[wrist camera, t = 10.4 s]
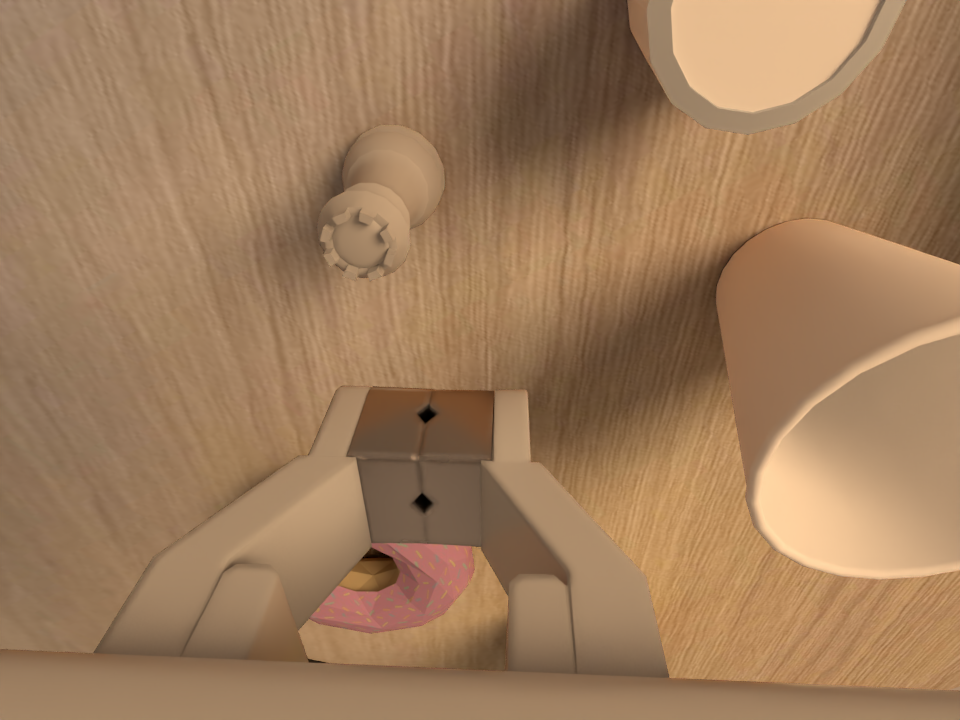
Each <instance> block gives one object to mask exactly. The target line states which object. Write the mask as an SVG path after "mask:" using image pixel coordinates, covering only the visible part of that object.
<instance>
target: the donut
mask: <svg viewBox="0 0 960 720" xmlns="http://www.w3.org/2000/svg"><path fill="white" fill-rule="evenodd" d="M372 548H374V549H376V550H378V551H380V552H382V553H384V554H386V555H388V556H390V557H392V558H361V560H360V561H359V562H358V563H357V564H356V565H355V566H354V568H353V569H352V570H351V571H350V572H349V573H348V574H347V576H346V577H345V578H344V579H343V580H342V581H341V582H340V584H339V585H338V586H337V587H336V588H335V589H334V590H333V592H332V593H331V594H330V595H329V596H328V597H327V598H326V600H325V601H324V602H323V603H322V604H321V605H320V606H319V608H318V609H317V610H316V611H315V612H314V613H313V614H312V616H311V617H310V618H309V619H311V620H312V621H314V622H316V623H318V624H323V625H328V626H334V627H339V628H344V629H350V630H355V631H361V632H366V633H371V634H372V633H378V632H385V631H391V630H398V629H404V628H411V627H417V626H422V625H424V624H426V623H427V622H429V621H431V620H433V619H435V618H437V617H439V616H441V615H443V614H444V613H445V612H446V611H447V610H448V608H449V607H450V606H451V605H452V604H453V602H454V601H455V600H456V599H457V598H458V596H459V595H460V594H461V593H462V592H463V590H464V589H465V588H466V587H467V586H468V584H469V583H470V580H471V578H472V575H473V573H474V570H475V569H474V561H473V554H472V547H471V546H459V545H442V544H425V543H372Z"/></svg>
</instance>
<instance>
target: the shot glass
mask: <svg viewBox="0 0 960 720" xmlns="http://www.w3.org/2000/svg"><path fill="white" fill-rule="evenodd" d="M905 2H906V0H627V3H628V14H629V25H630V30H631V32H632V34H633V36H634V38H635V40H636V42H637V44H638V46H639V47H640V49H641V51H642V53H643V55H644V57H645V59H646V60H647V62H648V64H649V66H650V67H651V69H652V71H653V72H654V74H655V76H656V78H657V79H658V81H659V83H660V85H661V86H662V88H663V90H664V92H665V93H666V95H667V97H668V99H669V100H670V102H671V104H673V105H674V106H675V107H677V108H678V109H680V110H681V111H682V112H684V113H685V114H687V115H688V116H689V117H691V118H692V119H693V120H695V121H696V122H698V123H699V124H700V125H702V126H703V127H705V128H708V129H715V130H721V131H727V132H733V133H740V134H746V135H749V134H753V133H757V132H762V131H766V130H770V129H774V128H778V127H782V126H786V125H791V124H795V123H796V122H798V121H800V120H801V119H803V118H804V117H806V116H808V115H809V114H811V113H812V112H814V111H816V110H817V109H819V108H820V107H822V106H824V105H825V104H827V103H828V102H830V101H832V100H833V99H835V98H836V97H838V96H840V95H841V94H842V93H843V92H844V91H845V90H846V89H847V88H848V87H849V85H850V84H851V83H852V82H853V81H854V80H855V79H856V78H857V77H858V75H859V74H860V73H861V72H862V71H863V70H864V69H865V68H866V67H867V65H868V64H869V63H870V62H871V61H872V60H873V59H874V58H875V57H876V56H877V54H878V53H879V52H880V51H881V50H882V48H883V46H884V44H885V42H886V40H887V38H888V36H889V34H890V32H891V30H892V28H893V26H894V24H895V22H896V20H897V18H898V16H899V14H900V12H901V10H902V8H903V6H904V4H905Z"/></svg>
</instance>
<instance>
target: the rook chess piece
mask: <svg viewBox="0 0 960 720" xmlns="http://www.w3.org/2000/svg"><path fill="white" fill-rule="evenodd" d="M342 179H343V185H344V192H343V193H342V194H339V195H337V196H335V197H333V198H331V199H330V200H329V201H328V203H327V204H326V205H325V206H324V207H323V209H322V210H321V211H320V215H319V220H318V224H317V232H318V237H319V242H320V246H321V247H322V249H323V250H324V253H323V256H324V258H325V260H326V261H327V263H328V264H329V266H330V267H331V266H333V265H334V264H335V265H336V266H338V267H339V268H340V269H341V270H343V271H344V274H343V275H342V277H345V278H348V279H351V280H353V281H356V280H357V278H358V277H360V278H369V281H372V280H375V279H377V278H380V277H383V276H385V275H388V274H391V273H393V272H395V271H396V270H397V269H398V268H399V267H400V266H401V265H402V264H403V263H404V262H405V260H406V257H407V254H408V251H409V248H410V246H411V245H410V234H409V230H410V229H411V228H414V227H416V226H419V225H421V224H423V223H424V222H425V221H426V220H427V219H428V218H429V217H430V216H431V214H432V213H433V212H434V211H435V210H436V207H437V206H438V205H439V202H440V199H441V197H442V194H443V191H444V188H445V177H444V166H443V164H442V162H441V159H440V157H439V155H438V153H437V151H436V149H435V147H434V146H433V145H432V144H431V143H430V142H429V141H427V140H426V139H425V138H424V137H423V136H422V135H421V134H420V133H418V132H416V131H414V130H411V129H409V128H407V127H404V126H402V125H379V126H377V127H374V128H372V129H370V130H368V131H366V132H364V133H362V134H361V135H360V136H359V138H358V139H357V140H356V141H355V143H354V144H353V145H352V146H351V148H350V150H349V153H348V154H347V155H346V159H345V163H344V168H343V172H342Z"/></svg>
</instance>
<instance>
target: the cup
mask: <svg viewBox="0 0 960 720" xmlns="http://www.w3.org/2000/svg"><path fill="white" fill-rule="evenodd" d="M716 306H717V312H718V318H719V324H720V330H721V336H722V342H723V348H724V354H725V360H726V366H727V372H728V378H729V384H730V390H731V396H732V402H733V408H734V414H735V420H736V426H737V432H738V438H739V444H740V450H741V456H742V462H743V467H744V473H745V479H746V485H747V488H746V495H745V498H746V502H747V506H748V509H749V512H750V516H751V519H752V522H753V526H754V527H755V528H756V530H757V531H758V532H759V533H760V534H761V535H762V536H763V538H764V539H765V540H766V541H767V542H768V543H769V544H770V546H771V547H772V548H773V549H774V550H775V551H777V552H779V553H781V554H782V555H784V556H786V557H788V558H789V559H791V560H793V561H795V562H796V563H798V564H800V565H802V566H804V567H808V568H812V569H815V570H819V571H822V572H826V573H830V574H833V575H837V576H844V577H856V578H868V579H895V578H912V577H925V576H930V575H936V574H941V573H946V572H952V571H957V570H960V265H959V264H956V263H953V262H950V261H947V260H944V259H941V258H938V257H935V256H932V255H929V254H926V253H923V252H920V251H917V250H914V249H911V248H908V247H906V246H903V245H900V244H897V243H894V242H891V241H888V240H885V239H882V238H879V237H876V236H873V235H870V234H867V233H864V232H861V231H858V230H855V229H852V228H849V227H846V226H843V225H840V224H837V223H834V222H831V221H828V220H820V219H810V218H806V219H800V220H793V221H787V222H784V223H781V224H779V225H776V226H773V227H771V228H768V229H766V230H764V231H763V232H761V233H759V234H758V235H756V236H755V237H753V238H751V239H750V240H748V241H747V242H746V243H745V244H744V245H743V246H742V247H741V248H740V249H739V250H738V251H737V252H735V253H734V254H733V256H732V257H731V259H730V260H729V262H728V263H727V265H726V266H725V267H724V269H723V271H722V273H721V276H720V279H719V281H718V284H717V290H716Z"/></svg>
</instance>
